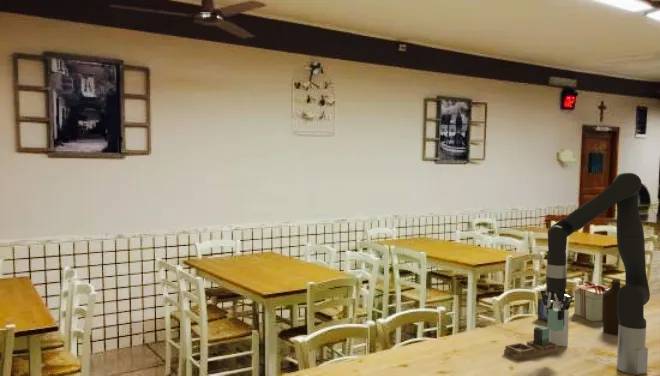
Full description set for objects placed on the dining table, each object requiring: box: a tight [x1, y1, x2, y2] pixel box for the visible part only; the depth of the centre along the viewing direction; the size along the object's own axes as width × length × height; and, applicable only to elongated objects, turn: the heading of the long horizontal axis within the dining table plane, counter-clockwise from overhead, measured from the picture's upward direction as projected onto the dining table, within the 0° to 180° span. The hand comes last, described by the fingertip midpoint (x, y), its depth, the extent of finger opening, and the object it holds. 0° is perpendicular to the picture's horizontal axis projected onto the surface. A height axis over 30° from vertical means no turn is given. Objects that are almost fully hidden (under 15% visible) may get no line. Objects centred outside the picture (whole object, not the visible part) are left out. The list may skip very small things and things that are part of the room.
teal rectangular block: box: [547, 308, 565, 331], centre depth 222 cm, size 4×5×8 cm
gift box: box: [573, 281, 611, 322], centre depth 284 cm, size 17×18×17 cm
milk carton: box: [549, 302, 570, 348], centre depth 242 cm, size 7×7×19 cm
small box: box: [537, 297, 548, 323], centre depth 277 cm, size 11×6×10 cm, turn 25°
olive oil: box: [602, 278, 621, 336], centre depth 259 cm, size 11×11×25 cm
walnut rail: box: [503, 325, 559, 361], centre depth 230 cm, size 8×22×10 cm, turn 117°
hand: (555, 318), depth 222 cm, fingers closed on teal rectangular block, 4 cm apart
